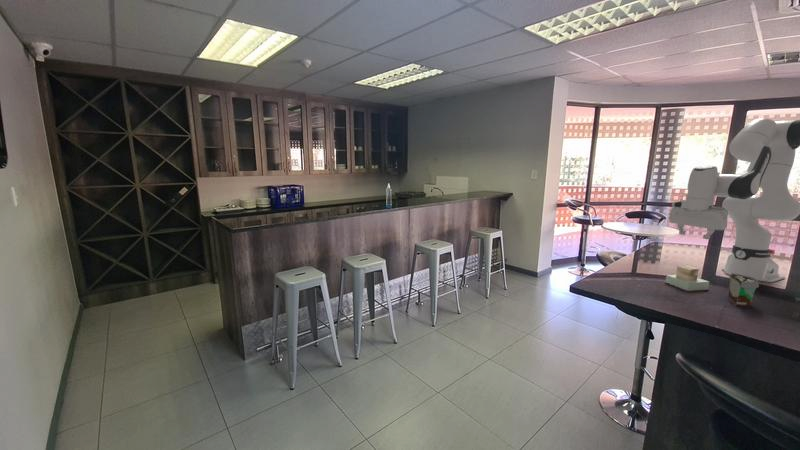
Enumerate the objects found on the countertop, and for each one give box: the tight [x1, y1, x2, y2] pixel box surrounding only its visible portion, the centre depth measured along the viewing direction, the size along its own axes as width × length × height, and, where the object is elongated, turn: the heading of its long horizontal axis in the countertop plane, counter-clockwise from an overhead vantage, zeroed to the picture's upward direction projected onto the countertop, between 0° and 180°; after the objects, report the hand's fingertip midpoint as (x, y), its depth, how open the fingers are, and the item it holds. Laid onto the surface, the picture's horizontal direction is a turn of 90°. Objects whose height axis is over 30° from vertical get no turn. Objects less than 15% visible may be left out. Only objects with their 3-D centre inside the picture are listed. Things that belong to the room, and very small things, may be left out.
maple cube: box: [675, 265, 700, 281], centre depth 139 cm, size 5×5×5 cm
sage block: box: [665, 274, 710, 292], centre depth 140 cm, size 10×10×4 cm
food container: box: [727, 273, 760, 308], centre depth 122 cm, size 12×6×10 cm, turn 148°
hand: (693, 236), depth 136 cm, fingers open, 8 cm apart
